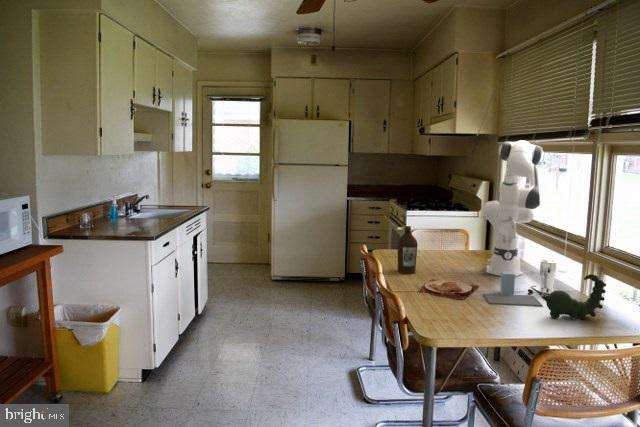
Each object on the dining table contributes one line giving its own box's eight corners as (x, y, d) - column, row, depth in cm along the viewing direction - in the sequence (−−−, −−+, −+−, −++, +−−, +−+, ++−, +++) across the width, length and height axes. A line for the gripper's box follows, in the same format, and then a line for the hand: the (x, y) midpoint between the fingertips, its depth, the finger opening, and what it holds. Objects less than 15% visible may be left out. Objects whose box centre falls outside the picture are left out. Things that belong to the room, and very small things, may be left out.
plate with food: (479, 289, 241) (479, 282, 241) (463, 301, 219) (464, 293, 219) (431, 282, 254) (431, 275, 253) (412, 293, 232) (413, 286, 232)
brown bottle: (394, 269, 274) (395, 225, 271) (412, 269, 275) (414, 224, 272) (399, 274, 263) (401, 228, 260) (419, 274, 265) (420, 227, 262)
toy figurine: (590, 317, 204) (532, 313, 202) (598, 272, 202) (539, 267, 199) (605, 325, 195) (544, 321, 192) (613, 278, 192) (552, 273, 190)
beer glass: (545, 294, 229) (547, 262, 227) (535, 290, 236) (537, 259, 234) (557, 293, 231) (560, 262, 229) (547, 289, 238) (549, 258, 236)
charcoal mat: (483, 294, 229) (483, 293, 229) (533, 296, 226) (533, 295, 226) (488, 303, 215) (489, 302, 215) (542, 306, 212) (542, 305, 212)
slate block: (500, 292, 233) (501, 271, 232) (511, 292, 232) (512, 271, 231) (502, 295, 228) (503, 273, 227) (513, 295, 228) (515, 274, 226)
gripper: (520, 218, 223) (518, 249, 225) (509, 213, 243) (508, 241, 245) (506, 218, 224) (504, 248, 225) (496, 213, 244) (494, 240, 246)
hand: (506, 244), depth 235 cm, fingers open, 7 cm apart
